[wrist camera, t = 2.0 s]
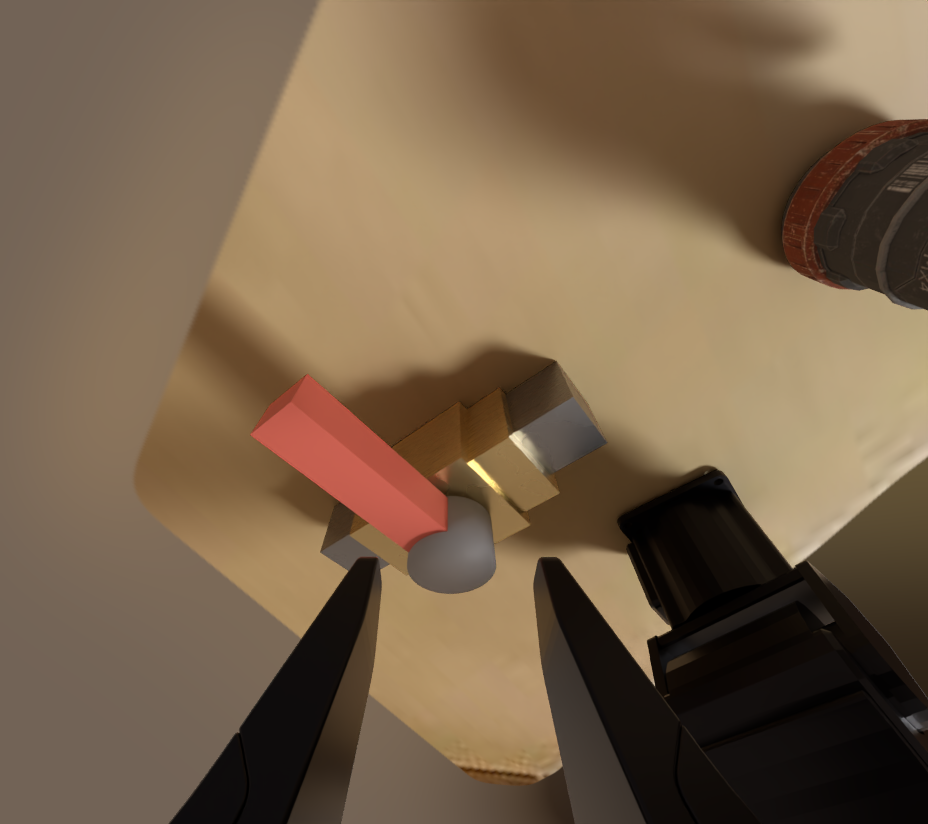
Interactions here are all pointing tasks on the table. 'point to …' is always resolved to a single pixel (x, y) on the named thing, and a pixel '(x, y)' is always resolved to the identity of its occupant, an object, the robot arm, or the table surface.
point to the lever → (381, 488)
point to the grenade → (865, 214)
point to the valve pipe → (485, 461)
